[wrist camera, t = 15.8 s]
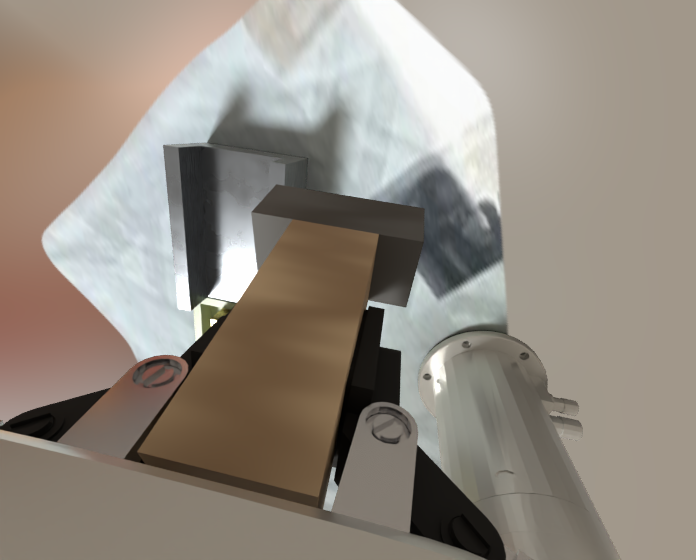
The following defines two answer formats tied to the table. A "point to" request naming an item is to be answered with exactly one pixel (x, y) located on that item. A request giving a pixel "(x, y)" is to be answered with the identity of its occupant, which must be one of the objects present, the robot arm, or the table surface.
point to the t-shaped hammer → (289, 345)
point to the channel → (219, 214)
